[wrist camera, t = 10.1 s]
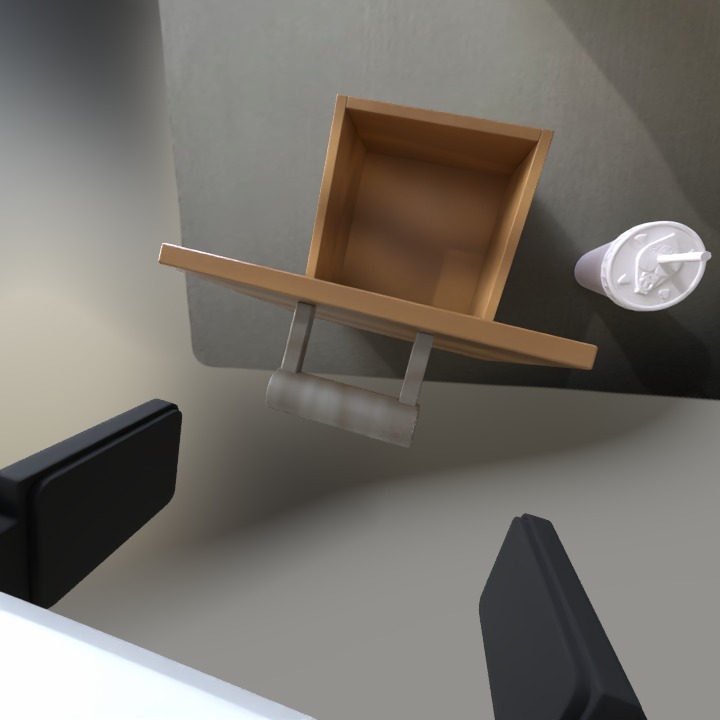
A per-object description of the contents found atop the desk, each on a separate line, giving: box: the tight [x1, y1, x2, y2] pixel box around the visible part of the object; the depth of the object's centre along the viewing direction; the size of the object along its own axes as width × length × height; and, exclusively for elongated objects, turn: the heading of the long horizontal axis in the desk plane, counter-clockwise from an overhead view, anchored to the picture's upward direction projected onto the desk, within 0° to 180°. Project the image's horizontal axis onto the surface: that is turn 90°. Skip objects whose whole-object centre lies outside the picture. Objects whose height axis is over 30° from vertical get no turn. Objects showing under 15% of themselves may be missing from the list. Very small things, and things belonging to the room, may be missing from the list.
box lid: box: [158, 243, 598, 448], centre depth 21 cm, size 17×16×5 cm
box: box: [306, 94, 554, 321], centre depth 32 cm, size 16×16×10 cm
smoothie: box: [574, 221, 711, 311], centre depth 28 cm, size 6×6×14 cm
